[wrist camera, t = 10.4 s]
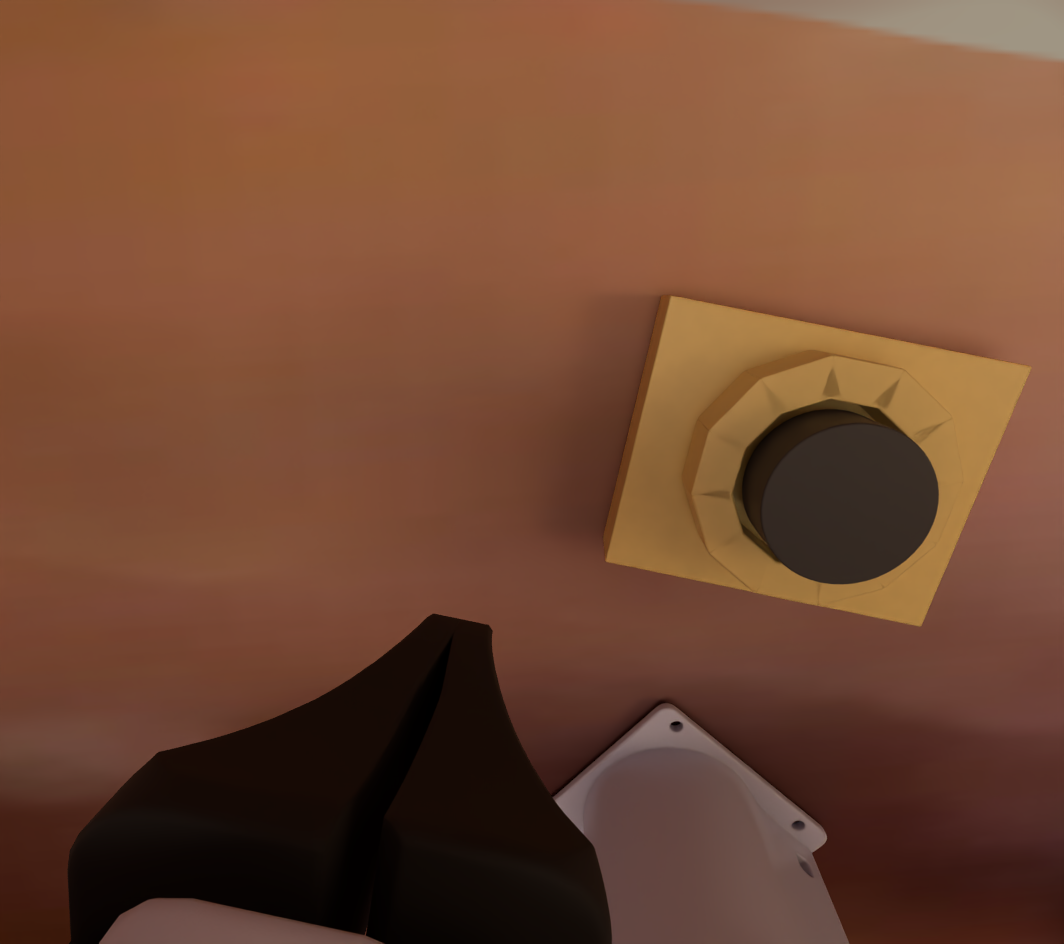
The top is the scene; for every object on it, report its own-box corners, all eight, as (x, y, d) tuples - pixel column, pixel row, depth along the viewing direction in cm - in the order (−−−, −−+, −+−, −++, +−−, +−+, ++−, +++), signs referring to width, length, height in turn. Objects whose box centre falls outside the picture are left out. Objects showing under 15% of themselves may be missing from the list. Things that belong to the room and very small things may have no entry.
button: (924, 426, 18) (967, 442, 16) (869, 568, 19) (903, 600, 17) (767, 394, 18) (790, 407, 16) (723, 538, 19) (739, 566, 17)
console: (986, 359, 20) (1080, 374, 17) (890, 596, 23) (952, 657, 19) (661, 294, 21) (679, 295, 17) (602, 537, 23) (607, 586, 19)
